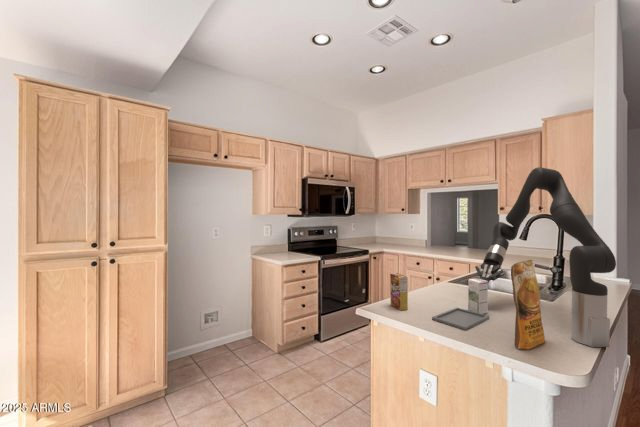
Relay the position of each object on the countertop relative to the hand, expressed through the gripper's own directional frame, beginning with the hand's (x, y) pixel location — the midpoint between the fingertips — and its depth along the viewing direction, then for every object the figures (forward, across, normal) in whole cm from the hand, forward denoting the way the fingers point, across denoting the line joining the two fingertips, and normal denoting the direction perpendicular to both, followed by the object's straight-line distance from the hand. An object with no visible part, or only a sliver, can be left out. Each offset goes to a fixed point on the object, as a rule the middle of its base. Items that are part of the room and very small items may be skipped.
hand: (483, 285), depth 138 cm
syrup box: (+12, 0, +4) cm, 12 cm away
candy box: (+28, -26, -12) cm, 40 cm away
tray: (+22, 0, -6) cm, 23 cm away
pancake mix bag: (+24, +25, -9) cm, 36 cm away
